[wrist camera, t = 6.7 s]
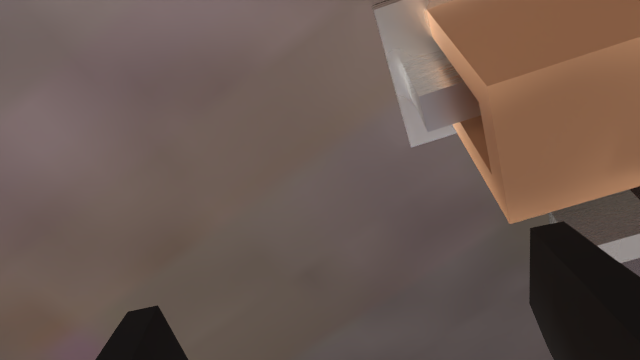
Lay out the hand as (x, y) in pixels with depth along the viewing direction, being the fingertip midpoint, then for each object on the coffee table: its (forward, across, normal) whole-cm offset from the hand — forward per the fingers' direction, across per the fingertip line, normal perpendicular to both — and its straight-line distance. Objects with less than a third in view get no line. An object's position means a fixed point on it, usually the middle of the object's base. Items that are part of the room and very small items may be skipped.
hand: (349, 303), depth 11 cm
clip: (+8, -8, -1) cm, 11 cm away
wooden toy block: (+9, -9, +7) cm, 15 cm away
